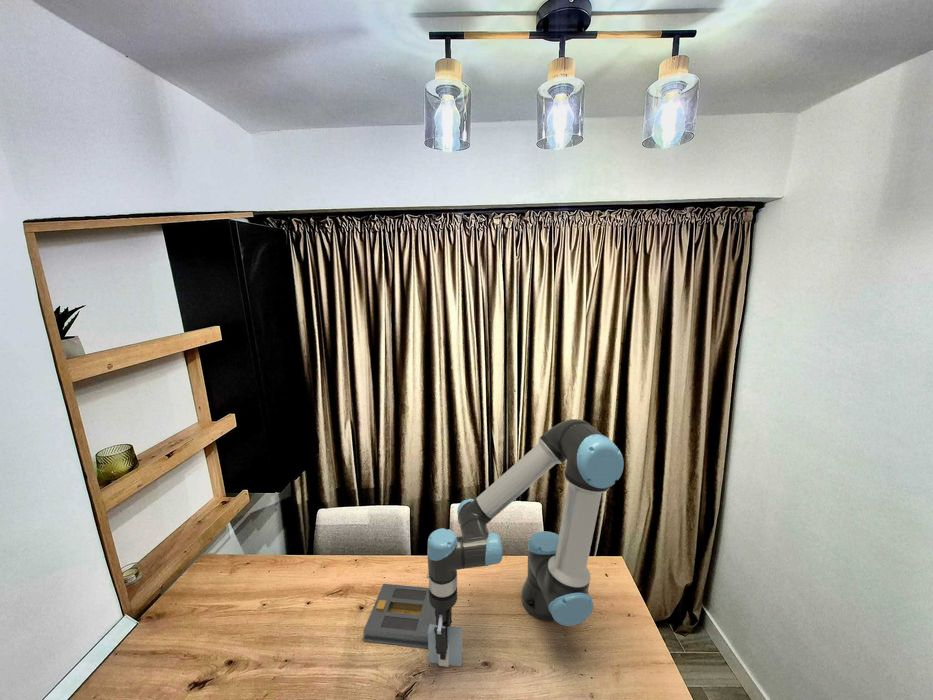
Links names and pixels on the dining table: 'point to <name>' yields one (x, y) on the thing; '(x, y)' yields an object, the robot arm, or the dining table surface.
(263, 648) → the dining table surface
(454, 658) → the panel
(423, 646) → the panel
